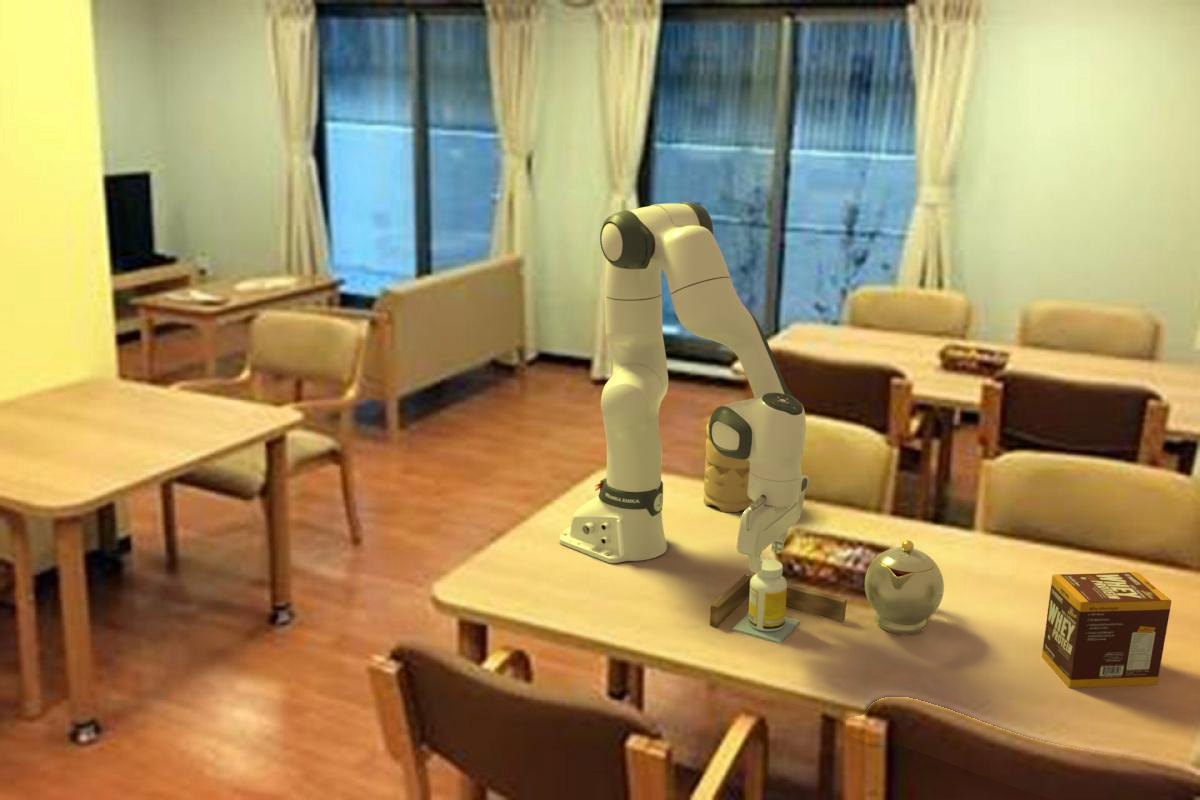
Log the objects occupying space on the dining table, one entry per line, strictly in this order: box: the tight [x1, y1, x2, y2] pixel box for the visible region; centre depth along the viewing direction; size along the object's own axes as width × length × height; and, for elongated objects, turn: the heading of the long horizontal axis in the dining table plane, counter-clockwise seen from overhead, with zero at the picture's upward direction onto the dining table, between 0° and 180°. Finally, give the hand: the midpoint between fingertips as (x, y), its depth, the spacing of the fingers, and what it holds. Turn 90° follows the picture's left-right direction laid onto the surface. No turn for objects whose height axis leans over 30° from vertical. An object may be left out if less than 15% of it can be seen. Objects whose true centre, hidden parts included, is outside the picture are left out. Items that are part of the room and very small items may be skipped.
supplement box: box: [1041, 571, 1172, 689], centre depth 195 cm, size 10×15×16 cm
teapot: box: [864, 539, 945, 635], centre depth 211 cm, size 18×14×16 cm
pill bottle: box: [748, 559, 788, 631], centre depth 209 cm, size 6×6×12 cm
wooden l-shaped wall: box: [709, 574, 848, 629], centre depth 212 cm, size 20×15×4 cm
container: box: [703, 422, 754, 514], centre depth 263 cm, size 13×13×18 cm
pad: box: [732, 612, 800, 645], centre depth 210 cm, size 9×9×1 cm
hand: (766, 560), depth 207 cm, fingers open, 8 cm apart
